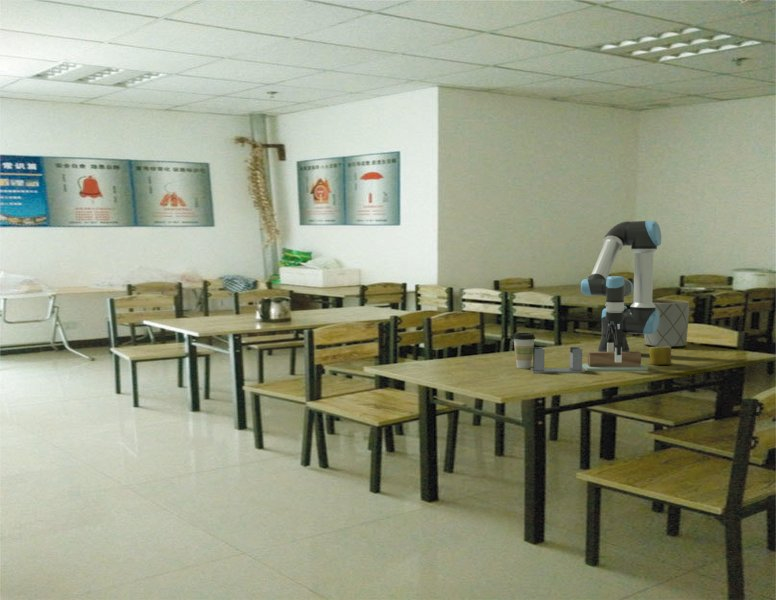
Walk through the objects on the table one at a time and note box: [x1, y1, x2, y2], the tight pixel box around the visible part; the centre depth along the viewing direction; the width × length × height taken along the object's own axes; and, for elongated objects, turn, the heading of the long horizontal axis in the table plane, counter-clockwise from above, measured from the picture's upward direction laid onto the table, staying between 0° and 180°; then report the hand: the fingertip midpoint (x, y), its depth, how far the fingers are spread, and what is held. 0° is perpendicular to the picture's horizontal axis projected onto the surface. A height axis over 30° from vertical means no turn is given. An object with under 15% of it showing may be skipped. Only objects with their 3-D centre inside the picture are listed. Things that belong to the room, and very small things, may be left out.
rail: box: [587, 351, 642, 367], centre depth 331 cm, size 4×22×6 cm, turn 87°
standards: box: [529, 346, 586, 374], centre depth 326 cm, size 8×22×10 cm, turn 87°
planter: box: [643, 299, 690, 348], centre depth 394 cm, size 23×23×24 cm
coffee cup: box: [512, 332, 536, 370], centre depth 336 cm, size 10×10×15 cm
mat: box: [582, 363, 649, 372], centre depth 332 cm, size 12×26×1 cm, turn 87°
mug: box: [648, 346, 672, 366], centre depth 341 cm, size 12×10×10 cm
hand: (614, 359), depth 331 cm, fingers open, 13 cm apart
